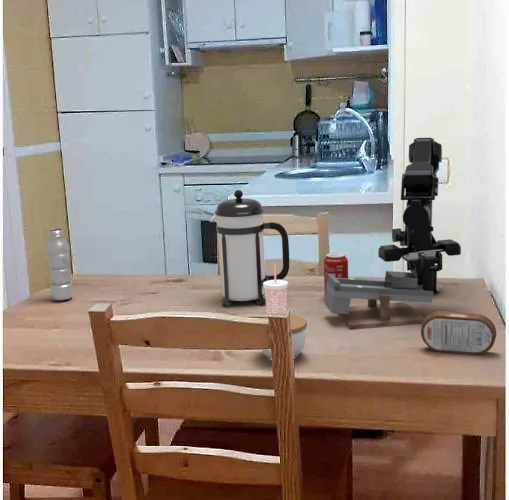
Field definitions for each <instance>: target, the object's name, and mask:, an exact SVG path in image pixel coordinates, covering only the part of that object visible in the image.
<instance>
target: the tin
mask: <svg viewBox="0 0 509 500" xmlns="http://www.w3.org/2000/svg"><path fill="white" fill-rule="evenodd" d="M420 327H421V328H420V336H421V339H422V341H423V342H424V344H425V345H426V346H427V347H428V348H429V349H431V350H433V351H437V352H440V353H441V352H442V353H452V354H463V353H465V355H474V354H478V355H482V354H485V353H487V352H488V351H490V350H491V349H492V347H493V346H494V344H495V342H496V338H497V328H496V326H495V324H494V322H493V320H491V319H490V318H489V317H488V316H485V315H483V314H481V313H473V312H472V313H471V312H460V311H459V312H457V311H445V310H437V311H433V312H431V313H429V314H427V315H426V316H425V317H424V320H423V322H422V323H421V326H420Z"/></svg>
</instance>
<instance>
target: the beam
mask: <svg viewBox="0 0 509 500" xmlns="http://www.w3.org/2000/svg"><path fill="white" fill-rule="evenodd" d="M384 282H385V280H378V279H377V280H375V279H360V278H354V277H351V278H350V277H348V279H347V278H336V277H335V276H334V275H333V274H328V277H327V285H326V295H325V294H324V306H325V307H326V308H327V310H328V311H329V312H330V313H331V314H336V315H338V314H348V312H349V307H350V304H351V303H350V302H351V299H360V300H361V299H363V300H368V299H375V300H377V301H378V302H380V295H387V294H389V295H390V301H394V302H407V303H408V302H411V303H413V302H414V303H426V304H432V303H433V298H434V294H435V293H434V292H433V291H424V290H423V289H422V286H423V284H422V285H418V283H417V287H416V290H407V289H391V288H385V287H384Z"/></svg>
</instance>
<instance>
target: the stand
mask: <svg viewBox="0 0 509 500" xmlns="http://www.w3.org/2000/svg"><path fill="white" fill-rule="evenodd" d="M390 301H391V300H390V295H389V294H387V295H380V301H379V303H377V302H378V300H375V299H367V304H365V305H352V306H349V312H348V314H337V316H338V317H339V318H340V319H341V320H342V322H343V323H344V324H345V325H346V327H347V328H348V330H360V329H371V328H383V327H394V326H407V325H419V324H422V322H423V320H424V319H425V317H423V315H421V314H420V313H418V312H417V311H416V310H415V309H414V308H412V306H411V305H409V304H408V302H406V301H398V302H390Z"/></svg>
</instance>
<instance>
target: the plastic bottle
mask: <svg viewBox="0 0 509 500" xmlns="http://www.w3.org/2000/svg"><path fill="white" fill-rule="evenodd" d="M63 237H64V234H63V229H62V228H54V229H53V228H52V229H49V230H48V238H49V239H50V240H49V241H48V242H47V245H46V246H45V252H46V253H45V254H46V257H47V261H48V266H49V271H50V286H49V294H50V297H51V299H52V300H53V301H66V300H71V298H73V297H74V294H75V288H74V285H73V282H72V277H71V269H70V245H69V243H68V242H67V241H66V239H64V238H63Z"/></svg>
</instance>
